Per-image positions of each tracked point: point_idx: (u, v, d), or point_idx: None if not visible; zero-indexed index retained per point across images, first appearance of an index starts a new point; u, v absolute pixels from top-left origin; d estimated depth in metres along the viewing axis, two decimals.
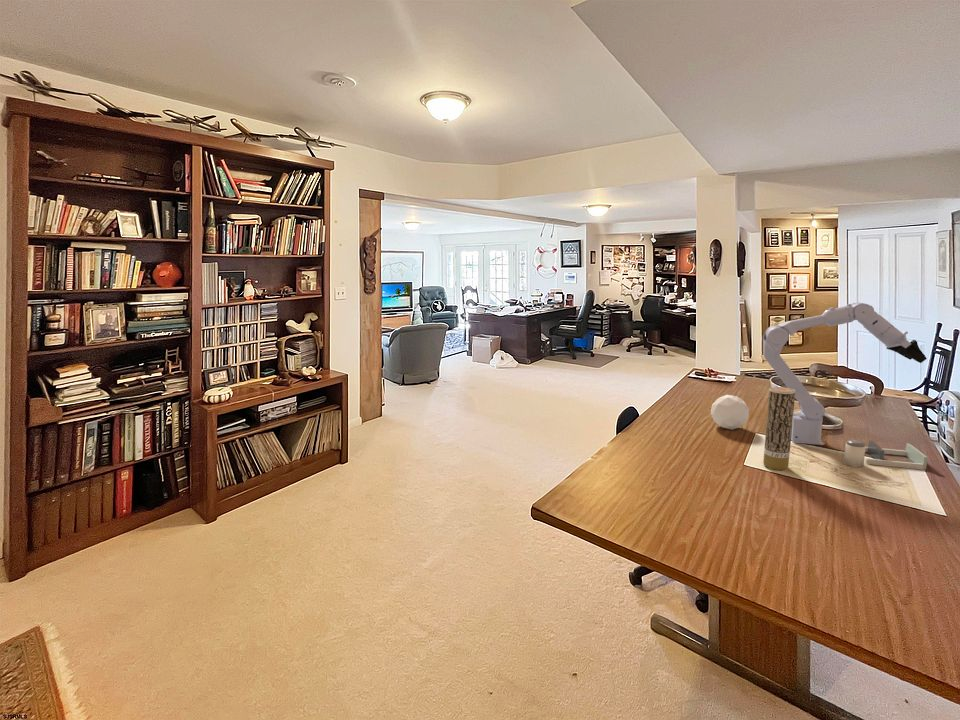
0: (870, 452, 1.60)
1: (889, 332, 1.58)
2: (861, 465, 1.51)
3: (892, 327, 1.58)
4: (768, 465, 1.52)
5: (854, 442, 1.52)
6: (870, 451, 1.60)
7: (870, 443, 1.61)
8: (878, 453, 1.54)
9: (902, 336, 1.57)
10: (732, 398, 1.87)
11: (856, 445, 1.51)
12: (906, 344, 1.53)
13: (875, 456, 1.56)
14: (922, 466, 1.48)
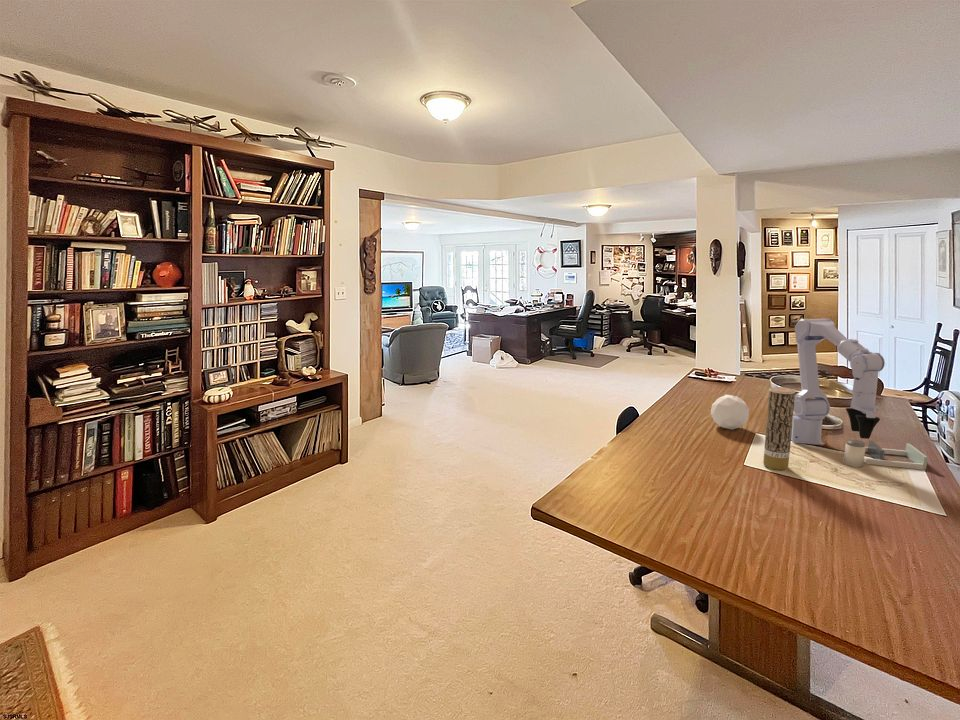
0: (870, 452, 1.60)
1: (868, 396, 1.47)
2: (861, 465, 1.51)
3: (874, 395, 1.47)
4: (768, 465, 1.52)
5: (854, 442, 1.52)
6: (870, 451, 1.60)
7: (870, 443, 1.61)
8: (878, 453, 1.54)
9: (872, 408, 1.47)
10: (732, 398, 1.87)
11: (856, 445, 1.51)
12: (871, 415, 1.44)
13: (875, 456, 1.56)
14: (922, 466, 1.48)
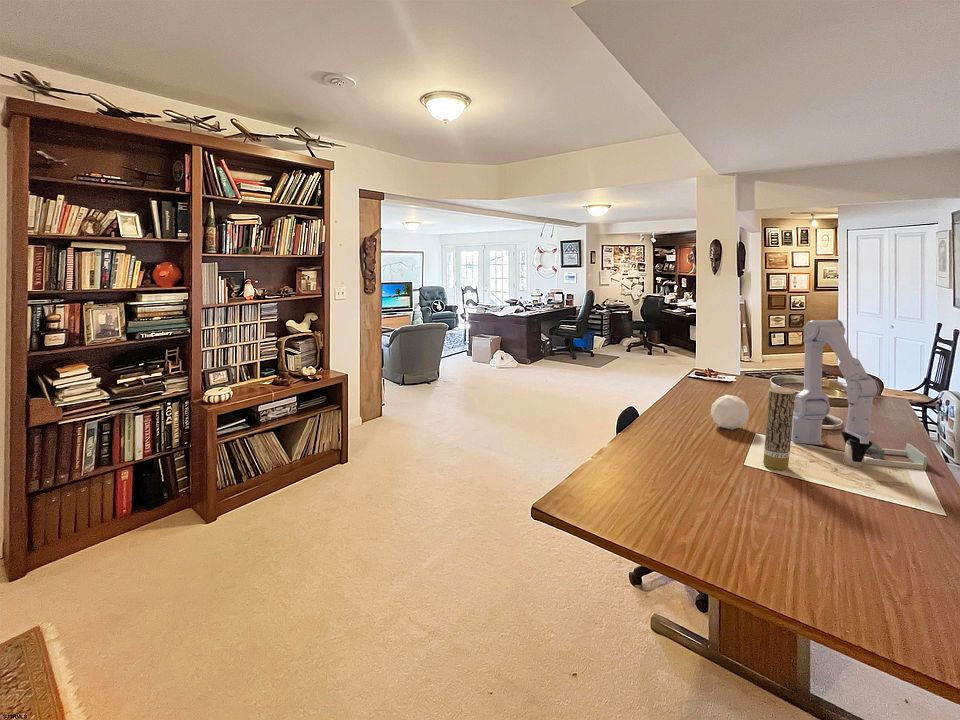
0: (870, 452, 1.60)
1: (862, 422, 1.48)
2: (861, 465, 1.51)
3: (868, 420, 1.49)
4: (768, 465, 1.52)
5: None
6: (870, 451, 1.60)
7: None
8: (878, 453, 1.54)
9: (866, 433, 1.49)
10: (732, 398, 1.87)
11: None
12: (864, 441, 1.45)
13: (875, 456, 1.56)
14: (922, 466, 1.48)
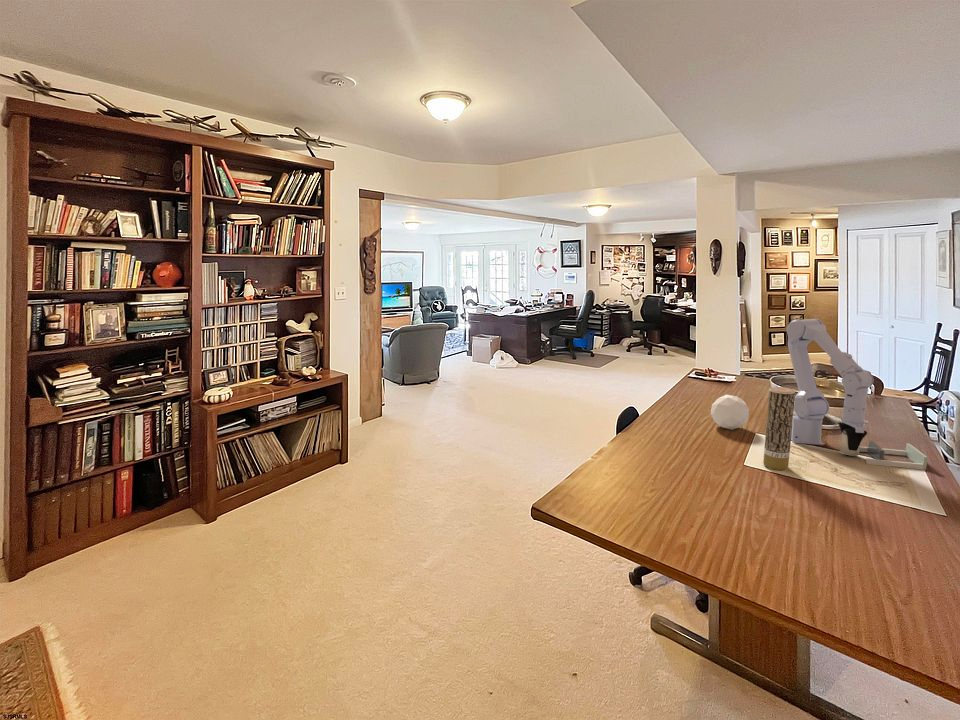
0: (870, 452, 1.60)
1: (858, 412, 1.55)
2: (857, 454, 1.58)
3: (864, 411, 1.55)
4: (768, 465, 1.52)
5: None
6: (870, 451, 1.60)
7: (870, 443, 1.61)
8: (878, 453, 1.54)
9: (862, 423, 1.56)
10: (732, 398, 1.87)
11: None
12: (860, 430, 1.52)
13: (875, 456, 1.56)
14: (922, 466, 1.48)
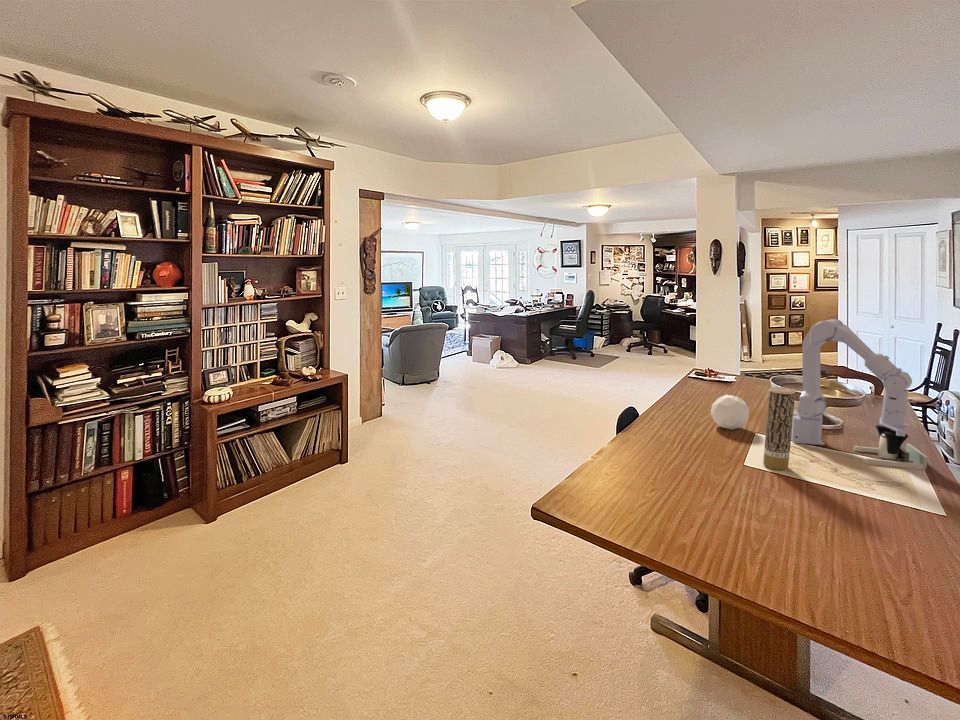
0: None
1: (898, 415, 1.51)
2: (896, 457, 1.54)
3: (904, 413, 1.51)
4: (768, 465, 1.52)
5: None
6: None
7: None
8: (903, 455, 1.52)
9: (902, 426, 1.52)
10: (732, 398, 1.87)
11: None
12: (901, 433, 1.48)
13: (899, 458, 1.54)
14: (922, 466, 1.48)
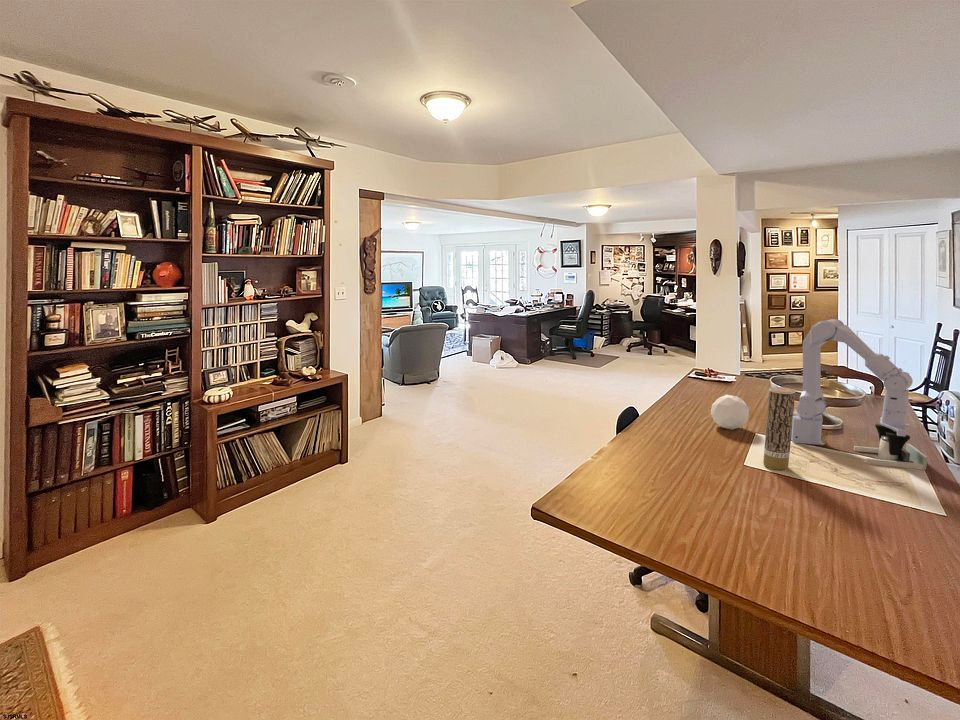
0: None
1: (898, 415, 1.51)
2: (896, 460, 1.54)
3: (905, 413, 1.51)
4: (768, 465, 1.52)
5: None
6: None
7: None
8: (904, 455, 1.52)
9: (903, 426, 1.52)
10: (732, 398, 1.87)
11: None
12: (901, 433, 1.48)
13: (900, 458, 1.54)
14: (922, 466, 1.48)
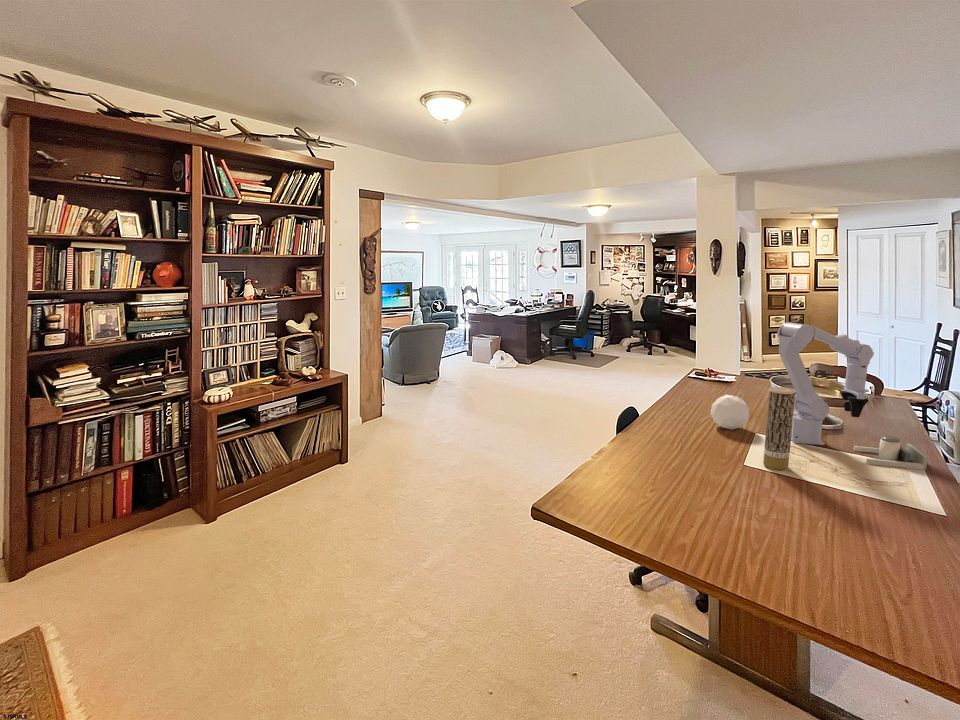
0: None
1: (859, 381, 1.70)
2: (896, 460, 1.54)
3: (864, 379, 1.70)
4: (768, 465, 1.52)
5: (889, 438, 1.55)
6: None
7: None
8: (904, 455, 1.52)
9: (862, 391, 1.70)
10: (732, 398, 1.87)
11: (891, 441, 1.54)
12: (861, 397, 1.66)
13: (900, 458, 1.54)
14: (922, 466, 1.48)
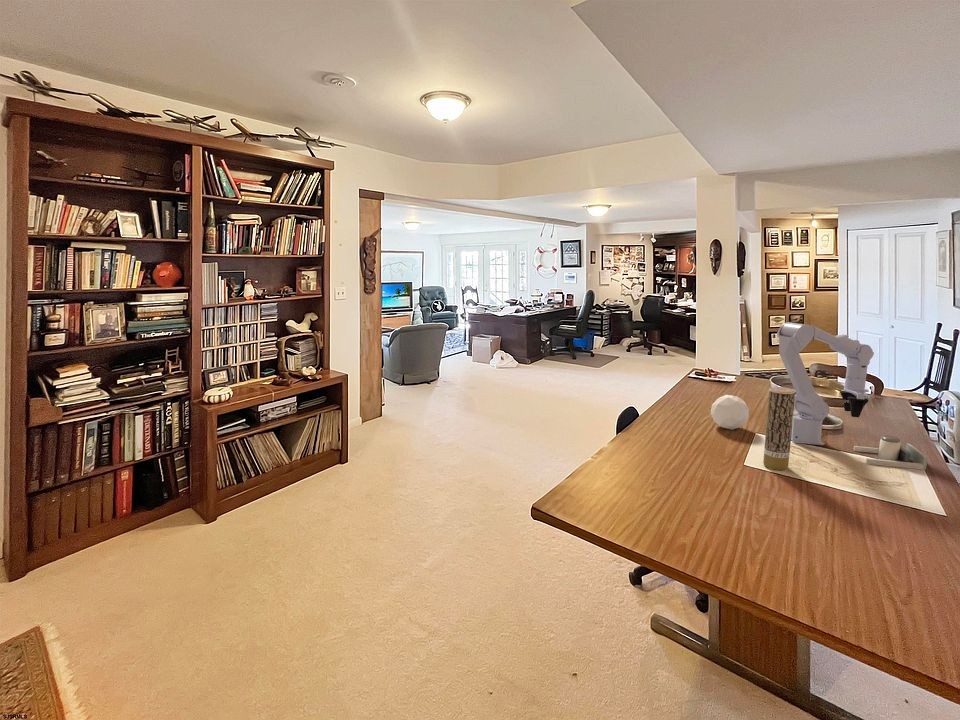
0: None
1: (859, 381, 1.70)
2: (896, 460, 1.54)
3: (864, 379, 1.70)
4: (768, 465, 1.52)
5: (889, 438, 1.55)
6: None
7: None
8: (904, 455, 1.52)
9: (862, 391, 1.70)
10: (732, 398, 1.87)
11: (891, 441, 1.54)
12: (860, 397, 1.66)
13: (900, 458, 1.54)
14: (922, 466, 1.48)
